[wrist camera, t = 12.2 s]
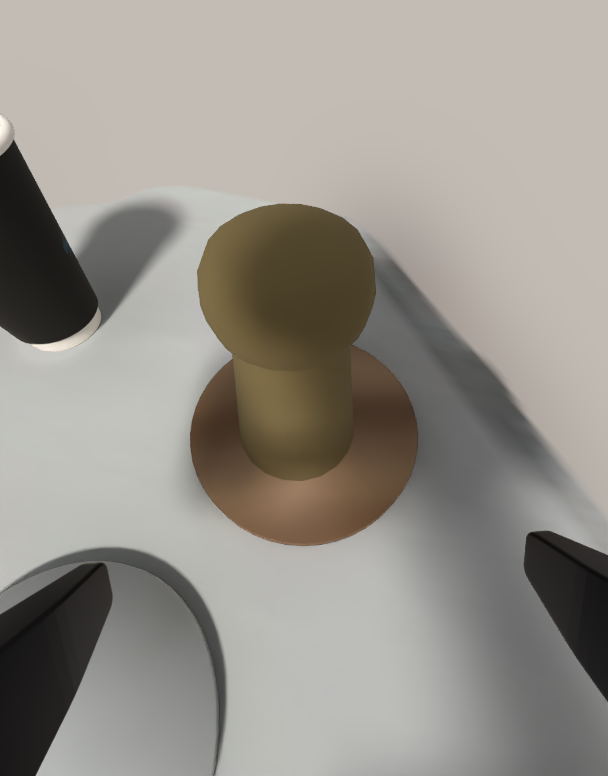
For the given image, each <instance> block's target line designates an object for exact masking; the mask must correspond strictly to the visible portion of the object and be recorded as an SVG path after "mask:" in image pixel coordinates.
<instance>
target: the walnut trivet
mask: <svg viewBox="0 0 608 776" xmlns="http://www.w3.org/2000/svg"><path fill="white" fill-rule="evenodd" d="M350 350H351V376H352V402H353V434H354V436H353V439H352V442H351V445H350V448H349V451H348V453H347V454H346V455H345V457H344V458H343V459H342V460H341V462H340V463H339V464H338V465H337V466H336V467H335V468H333V469H332V470H330V471H328V472H327V473H325V474H324V475H322V476H320V477H316V478H312V479H309V480H305V481H290V480H281V479H279V478H276V477H274V476H271V475H268V474H266V473H264V472H263V471H262V470H261V469H260V468H258V467H257V466H256V465H255V464H254V463H252V462H251V460H250V459H249V457H248V455H247V453H246V452H245V450H244V448H243V446H242V440H241V435H240V428H239V417H238V407H237V396H236V386H235V375H234V365H233V359H232V360H231V361H230V362H228V363H227V364H226V365H225V366H223V367H222V369H221V370H220V371H219V372H218V373H217V374H216V375H215V376H214V377H213V378H212V380H211V381H210V382H209V384H208V385H207V386H206V388H205V390H204V391H203V393H202V395H201V397H200V399H199V401H198V404H197V406H196V409H195V412H194V416H193V419H192V425H191V433H190V448H191V454H192V461H193V464H194V467H195V470H196V474H197V476H198V478H199V480H200V482H201V484H202V486H203V488H204V490H205V491H206V493H207V494H208V496H209V497H210V499H211V500H212V501H213V502H214V503H215V505H216V506H217V507H218V508H219V509H220V510H221V511H222V512H223V513H224V514H225V515H226V516H227V517H228V518H229V519H230V520H232V521H233V522H234V523H236V524H237V525H238V526H239V527H241V528H243V529H244V530H246V531H248V532H250V533H251V534H253V535H255V536H258V537H261V538H263V539H266V540H268V541H272V542H276V543H281V544H285V545H296V546H311V545H322V544H326V543H331V542H336V541H339V540H341V539H344V538H347V537H350V536H352V535H354V534H356V533H358V532H359V531H361V530H363V529H365V528H367V527H368V526H369V525H371V524H372V523H373V522H375V521H376V520H377V519H379V518H380V517H381V516H382V515H383V514H384V513H385V512H386V511H387V510H388V509H389V508H390V506H391V505H392V504H393V503H394V501H395V500H396V499H397V497H398V496H399V495H400V493H401V492H402V490H403V489H404V487H405V485H406V483H407V481H408V479H409V477H410V475H411V472H412V469H413V466H414V463H415V459H416V453H417V446H418V431H417V423H416V418H415V414H414V410H413V407H412V405H411V402H410V400H409V397H408V395H407V394H406V392H405V390H404V388H403V387H402V385H401V384H400V382H399V381H398V380H397V378H396V377H395V376H394V375H393V373H392V372H391V371H390V370H389V369H388V368H387V367H386V366H385V365H383V364H382V363H381V362H380V361H378V360H377V359H376V358H375V357H373V356H372V355H370V354H368V353H367V352H365V351H363V350H361V349H359V348H357V347H355V346H353V345H351V346H350Z"/></svg>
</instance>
